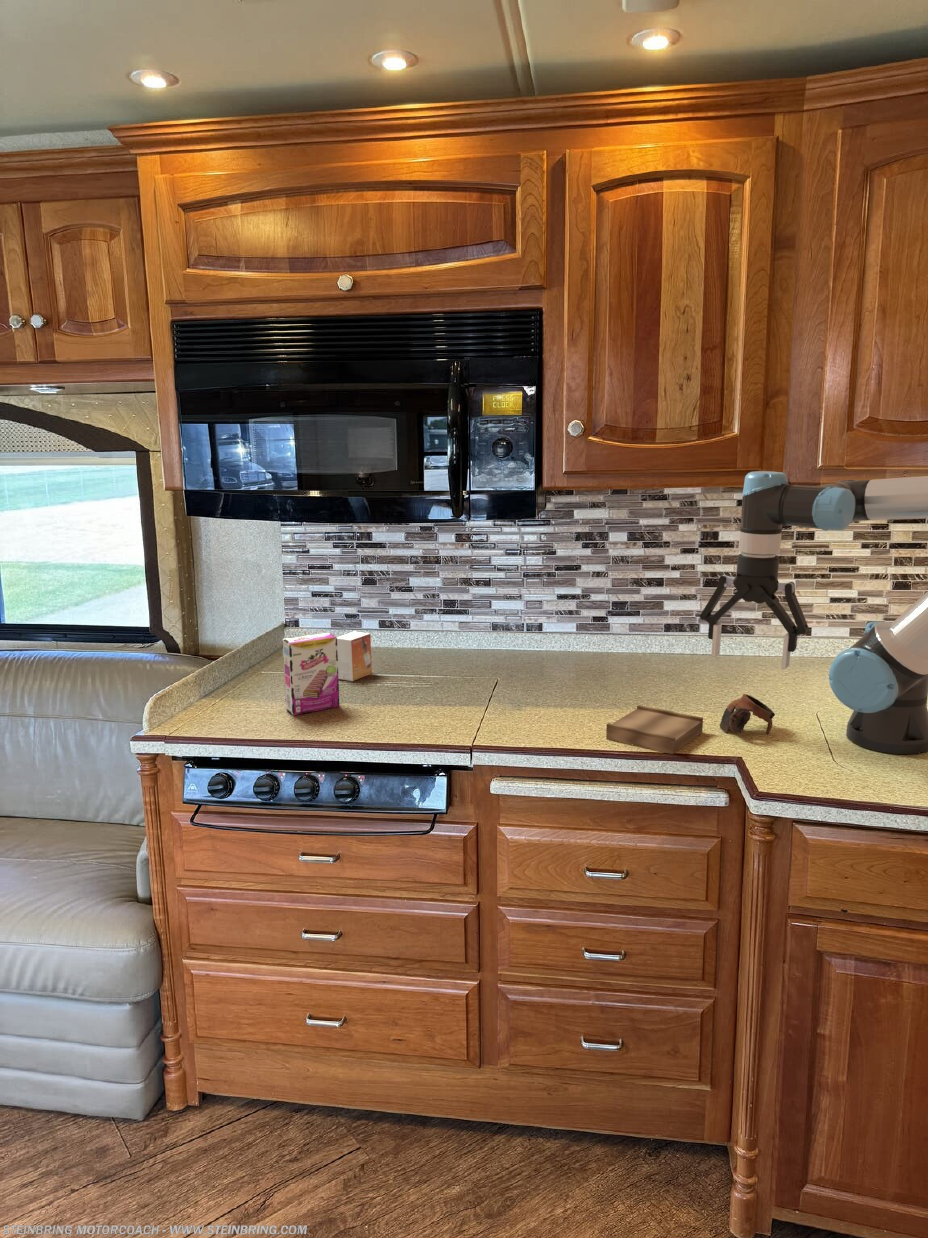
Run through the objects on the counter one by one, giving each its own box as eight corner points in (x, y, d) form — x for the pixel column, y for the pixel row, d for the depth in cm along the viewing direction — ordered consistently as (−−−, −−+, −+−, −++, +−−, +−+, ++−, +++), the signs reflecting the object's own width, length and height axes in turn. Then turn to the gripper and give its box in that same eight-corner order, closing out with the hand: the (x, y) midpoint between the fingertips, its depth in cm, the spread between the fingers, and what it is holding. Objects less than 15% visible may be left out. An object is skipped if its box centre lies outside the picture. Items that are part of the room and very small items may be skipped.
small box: (352, 682, 212) (350, 640, 210) (335, 679, 215) (332, 637, 213) (372, 673, 219) (371, 633, 217) (355, 670, 222) (353, 630, 220)
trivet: (702, 732, 175) (703, 717, 174) (672, 754, 164) (673, 738, 163) (638, 719, 183) (638, 705, 182) (606, 739, 172) (606, 724, 171)
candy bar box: (293, 716, 189) (288, 643, 185) (285, 710, 193) (280, 638, 189) (341, 707, 194) (337, 635, 191) (332, 701, 198) (328, 631, 195)
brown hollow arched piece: (722, 721, 182) (744, 689, 180) (761, 749, 178) (784, 716, 176) (706, 724, 172) (730, 690, 170) (747, 754, 167) (772, 719, 165)
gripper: (832, 557, 162) (820, 667, 167) (701, 545, 175) (694, 646, 181) (822, 564, 156) (811, 677, 161) (688, 550, 169) (681, 655, 175)
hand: (749, 661), depth 171 cm, fingers open, 13 cm apart
